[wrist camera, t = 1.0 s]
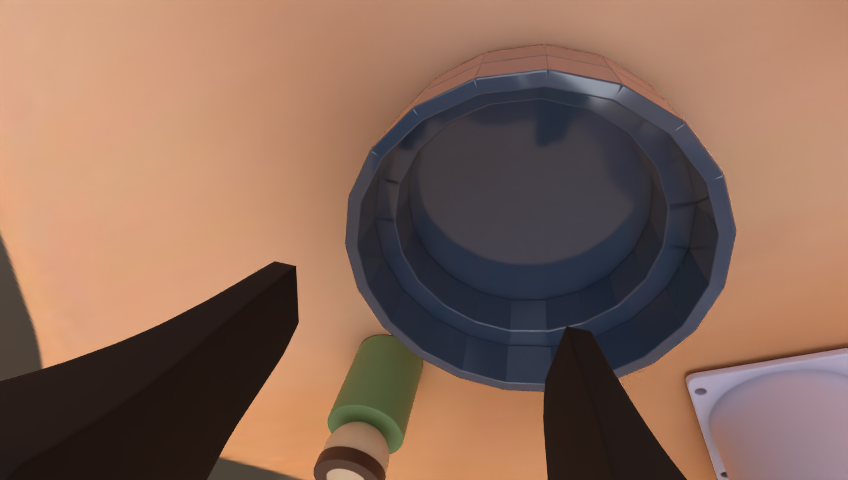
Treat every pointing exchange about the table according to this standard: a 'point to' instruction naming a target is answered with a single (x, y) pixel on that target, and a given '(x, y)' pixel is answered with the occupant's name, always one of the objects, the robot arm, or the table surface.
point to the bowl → (538, 218)
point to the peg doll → (370, 411)
